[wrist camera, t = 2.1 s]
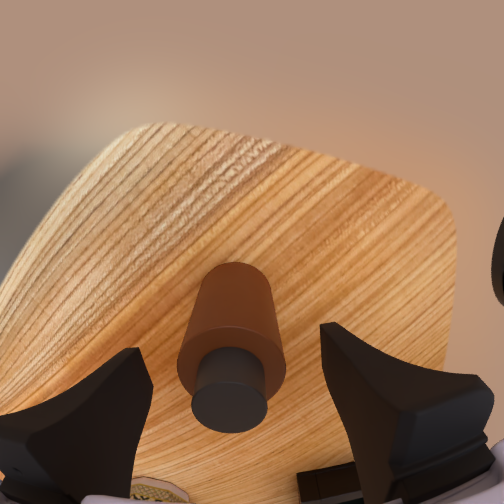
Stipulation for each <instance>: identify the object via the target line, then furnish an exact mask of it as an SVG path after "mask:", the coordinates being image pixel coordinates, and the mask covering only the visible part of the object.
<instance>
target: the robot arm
mask: <svg viewBox="0 0 504 504" xmlns="http://www.w3.org/2000/svg"><path fill="white" fill-rule="evenodd" d="M320 339H321V357H322V369H323V372H324V376H325V380H326V383H327V387H328V389H329V392H330V394H331V397H332V399H333V401H334V404H335V406H336V408H337V411H338V413H339V415H340V418H341V420H342V422H343V425H344V427H345V430H346V432H347V435H348V438H349V442H350V445H351V449H352V453H353V456H354V460H355V464H356V468H357V472H358V476H359V481H360V485H361V489H362V494H363V499H364V504H504V439H502V440H501V441H499V442H498V443H496V444H495V445H494V446H493V447H492V448H491V449H490V450H489V449H488V447H487V445H486V444H485V443H486V442H487V441H488V437H487V436H486V435H485V433H484V432H483V430H484V427H485V425H486V423H487V421H488V419H489V416H490V414H491V412H492V408H493V405H494V394H493V392H492V391H491V389H490V388H489V387H488V386H487V385H486V384H485V383H484V382H483V381H482V380H481V379H480V377H478V376H477V375H473V374H458V373H457V374H456V373H448V372H442V371H437V370H432V369H427V368H424V367H420V366H417V365H413V364H410V363H407V362H404V361H402V360H399V359H397V358H394V357H392V356H390V355H388V354H385V353H383V352H382V351H380V350H378V349H376V348H374V347H372V346H371V345H369V344H367V343H366V342H364V341H362V340H361V339H359V338H358V337H356V336H355V335H353V334H352V333H350V332H349V331H348V330H346V329H345V328H343V327H342V326H341V325H339V324H338V323H336V322H331V323H325V324H320ZM153 387H154V386H153V383H152V381H151V378H150V376H149V373H148V371H147V368H146V365H145V363H144V360H143V357H142V355H141V352H140V349H139V347H135V348H125V349H123V350H122V351H120V352H119V353H117V354H116V355H115V356H113V357H112V358H111V359H110V360H108V361H107V362H106V363H104V364H103V365H102V366H100V367H99V368H98V369H97V370H95V371H94V372H93V373H91V374H90V375H89V376H87V377H86V378H84V379H83V380H82V381H80V382H79V383H77V384H76V385H74V386H73V387H71V388H70V389H68V390H66V391H65V392H63V393H61V394H59V395H57V396H55V397H53V398H51V399H49V400H47V401H45V402H43V403H40V404H38V405H36V406H33V407H30V408H28V409H25V410H21V411H18V412H15V413H11V414H6V415H1V416H0V471H1V472H2V473H3V474H4V475H5V478H4V479H3V481H2V480H0V504H194V503H170V502H155V501H144V500H134V499H130V489H131V480H132V472H133V466H134V460H135V454H136V450H137V447H138V443H139V440H140V437H141V434H142V431H143V428H144V425H145V422H146V419H147V415H148V412H149V409H150V406H151V400H152V394H153Z"/></svg>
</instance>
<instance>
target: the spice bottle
mask: <svg viewBox="0 0 504 504" xmlns="http://www.w3.org/2000/svg"><path fill="white" fill-rule="evenodd" d="M177 372H178V376H179V379H180V381H181V383H182V385H183V386H184V388H185V389H186V390H187V392H188V393H189V394H190V395H192V396H193V397H192V402H191V408H192V412H193V414H194V416H195V417H196V419H197V420H198V421H199V422H200V423H201V424H203V425H204V426H206V427H207V428H209V429H212V430H214V431H217V432H222V433H240V432H245V431H248V430H250V429H253V428H254V427H256V426H257V425H259V424H260V423H261V422H262V421H263V419H264V418H265V416H266V414H267V409H268V407H267V400H269V399H270V398H271V397H273V396H274V395H275V394H276V393H277V392H278V390H279V389H280V387H281V385H282V383H283V381H284V378H285V374H286V363H285V358H284V353H283V348H282V343H281V338H280V333H279V328H278V323H277V318H276V313H275V308H274V303H273V298H272V293H271V288H270V285H269V282H268V281H267V279H266V277H265V276H264V275H263V274H262V273H261V272H260V271H259V270H258V269H256V268H255V267H253V266H251V265H248V264H245V263H240V262H231V263H225V264H222V265H219V266H217V267H216V268H214V269H213V270H211V271H210V272H209V273H208V274H207V275H206V276H205V278H204V280H203V282H202V284H201V287H200V290H199V293H198V296H197V299H196V302H195V305H194V308H193V311H192V314H191V317H190V320H189V323H188V327H187V330H186V333H185V336H184V339H183V342H182V345H181V349H180V352H179V355H178V359H177Z"/></svg>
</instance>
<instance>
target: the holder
mask: <svg viewBox="0 0 504 504" xmlns="http://www.w3.org/2000/svg"><path fill="white" fill-rule="evenodd" d="M297 483H298V493H299V502H300V504H364V499H363V494H362V489H361V485H360V481H359V476H358V472H357V468H356V464H355V462H351V463H347V464H342V465H338V466H333V467H329V468H324V469H318V470H313V471H307V472H301V473H297Z"/></svg>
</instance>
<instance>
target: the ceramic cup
mask: <svg viewBox="0 0 504 504" xmlns="http://www.w3.org/2000/svg"><path fill="white" fill-rule="evenodd" d="M130 499H134V500H144V501H155V502H170V503H189V497H188V494H187V493H186V492H184V491H182V490H181V489H179V488H178V487H176V486H175V485H173V484H172V483H169V482H164V481H160V480H155V479H151V478H147V477H140V478H136V479H132V480H131V489H130Z"/></svg>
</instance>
